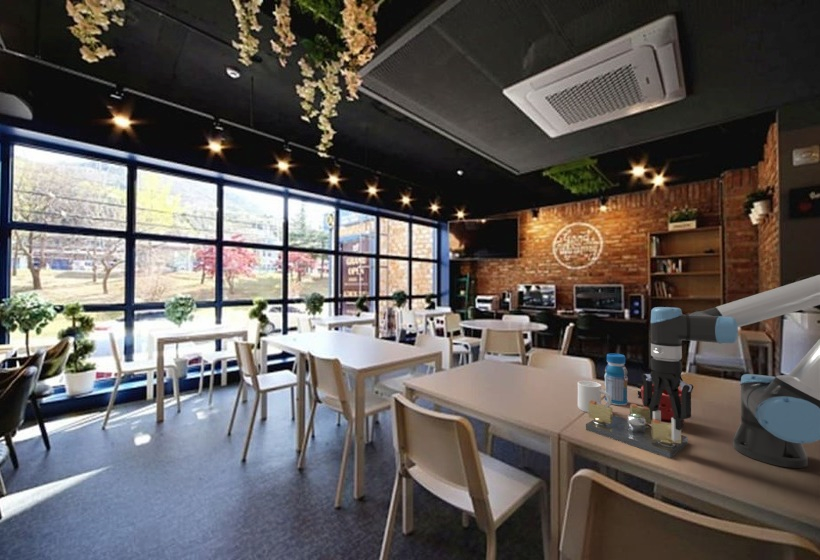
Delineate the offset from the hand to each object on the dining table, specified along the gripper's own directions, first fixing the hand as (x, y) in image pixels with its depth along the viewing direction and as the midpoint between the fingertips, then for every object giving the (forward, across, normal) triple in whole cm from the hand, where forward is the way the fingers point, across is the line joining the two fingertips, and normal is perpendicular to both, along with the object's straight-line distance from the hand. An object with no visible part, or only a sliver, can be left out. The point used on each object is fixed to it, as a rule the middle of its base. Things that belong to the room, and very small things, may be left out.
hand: (666, 435), depth 104 cm
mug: (+5, -31, +7) cm, 32 cm away
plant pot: (+5, -14, +21) cm, 26 cm away
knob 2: (+2, 0, 0) cm, 2 cm away
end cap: (+5, -34, +44) cm, 55 cm away
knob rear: (+2, -12, +7) cm, 14 cm away
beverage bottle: (+5, -34, +24) cm, 42 cm away
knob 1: (+2, -18, -5) cm, 19 cm away
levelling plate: (+4, -10, 0) cm, 11 cm away
